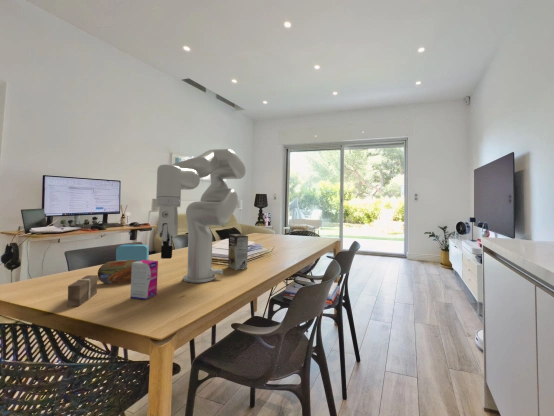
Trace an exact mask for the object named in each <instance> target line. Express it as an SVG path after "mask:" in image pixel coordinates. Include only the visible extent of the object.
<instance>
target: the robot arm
mask: <svg viewBox="0 0 554 416" xmlns="http://www.w3.org/2000/svg"><path fill="white" fill-rule="evenodd" d="M245 174H246V167H245V164H244V162H243V161H242V159H241V158H240V157H239V156H238V155H237V152H235V151H233V150H232V149H229V148H218V149H217V148H215V149H209V150H207V151H205V152H203V153H202V154H200V155H198V156H196V157H192V158H188V159H186V160H182V161H178V162H175V163H172V164H159V166H158V167H157V172H156V193H155V194H156V195H155V196H156V198H155V207H158V208H159V209H158V221H157V223H158V224H157V229H158V230H157V236H158V237H159V238H161V246H160V247H161V248H160V259H166V260H167V259H172V258H173V238H175V237H177V236H178V234H179V231H178V229H179V226H178V225H179V222H178V220H179V218H178V217H179V216H178V215H179V214H178V212H179V211H178V208H181V205H182V204H181V199H182V197H181V196H182V191H183V190H185V191H186V190H194V189H196V188H198V186H199V185H200V181H201V178H206V177H207V176H210V177H209V178H210V185H209V186H208V187H207V188H206V190H204V191H203V193H202V195H201V197H200V201H193V202H191V203H189V204H188V206H186V208H185V210H186V211H185V217H186V223H187V274H185V275H183V277H182V278H183V279H182V280H183V281H184V282H187V283H194V284H195V283H196V284H198V283H209V282H211V281H214V280H215V279H216V275H223V274H224V270H223V269H220V268H213V233H212V231H211V229H210V228H209V226H224V225H226V224H227V223H228V222H229V221H230V219H231V217H232V216H233V213H234V212H235V210H236V208H237V206H238V202H239V197H238V194H237V192H236V190H235V189H233V188H229V186H228V184H227V183H226V181H224V180H241V179H243V178H244V177H245Z"/></svg>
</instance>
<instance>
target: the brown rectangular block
mask: <svg viewBox="0 0 554 416" xmlns="http://www.w3.org/2000/svg"><path fill="white" fill-rule="evenodd" d="M97 292H98V274H97V275H96V274H92V275H91V274H90V275H86V276H83V277H82V278H79V279H77V281H74V282H73V283H70V284H69V285H68V286H67V307H69V308H70V307H72V308H73V307H81V306H82V305H83V304H85V303H86V302H87V301H89V300H90V299H91V298H93V297H94V296H95V295H97Z"/></svg>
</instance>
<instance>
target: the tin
mask: <svg viewBox="0 0 554 416" xmlns="http://www.w3.org/2000/svg"><path fill="white" fill-rule="evenodd" d="M133 262H137V261H136V260H123V261H116V260H113V261H111V260H110V261H107V262H105V263H103V264H102V265H101V266H99V268H98V271H97V279H98V281H100V282H101V283H102V284H104V285H115V284H123V283H131V273H132V263H133Z"/></svg>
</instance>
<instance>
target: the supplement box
mask: <svg viewBox="0 0 554 416" xmlns="http://www.w3.org/2000/svg"><path fill="white" fill-rule="evenodd" d="M158 269H159V261H158V260H141V261H137V262H133V263H132V273H131V282H130V296H129V298H130V299H133V300H134V299H135V300H142V301H143V300H144V301H146V300H148V299H150V298H151V297H154V296H157V294H158V272H159V271H158Z"/></svg>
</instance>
